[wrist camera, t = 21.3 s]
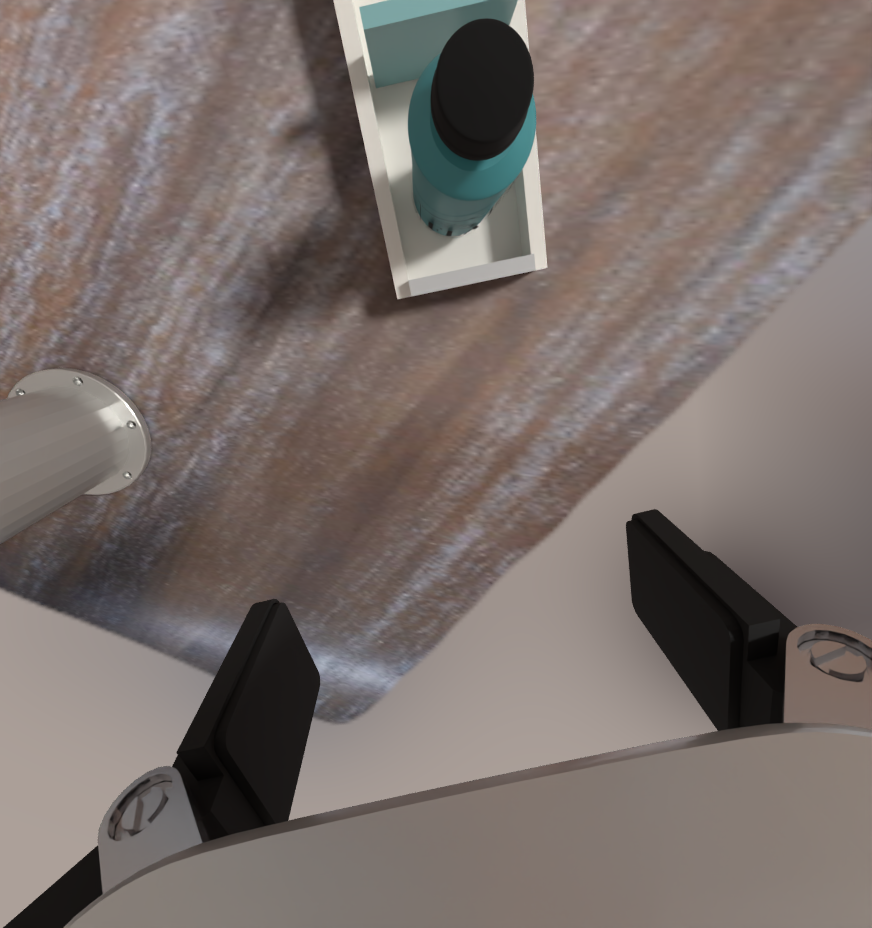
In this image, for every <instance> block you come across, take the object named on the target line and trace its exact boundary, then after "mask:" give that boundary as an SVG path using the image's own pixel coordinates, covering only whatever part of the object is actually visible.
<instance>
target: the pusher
mask: <svg viewBox="0 0 872 928" xmlns="http://www.w3.org/2000/svg"><path fill="white" fill-rule="evenodd" d="M517 1H518V0H387V1H383V2H378V3H374V4H370V5H366V6H362V7H359V9H360V14H361V19H362V24H363V29H364V34H365V39H366V43H367V48H368V53H369V58H370V62H371V67H372V72H373V76H374V81H375V86H376V88H379V87H384V86H388V85H392V84H397V83H401V82H405V81H410V80H414V79H418V78H419V77H420V75H421V74H422V72H423V71H424V69H425V68H426V67H427V65H428V64H429V63H430V62H431V61H432V60H433V59H434V58H435V57H436V56H437V55H439V54H440V53H441V52H442V50H443V48H444V46H445V44H446V43H447V41H448V40H449V39H450V37H451V36H452V35H453V34H454V33H455V32H456V31H457V30H458V29H459V28H461V27H462V26H463V25H465V24H467V23H468V22H471V21H473V20H477V19H484V18H489V19H496V20H499V21H502V22H504V23H506V24H508V25H510V22H511V19H512V16H513V13H514V10H515V7H516V4H517Z"/></svg>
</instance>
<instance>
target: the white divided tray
mask: <svg viewBox="0 0 872 928" xmlns="http://www.w3.org/2000/svg"><path fill="white" fill-rule="evenodd" d="M333 1H334V5H335V10H336V15H337V19H338V24H339V29H340V33H341V38H342V43H343V47H344V52H345V57H346V61H347V66H348V71H349V75H350V80H351V85H352V89H353V94H354V99H355V103H356V108H357V113H358V117H359V122H360V127H361V131H362V136H363V141H364V145H365V150H366V155H367V159H368V164H369V169H370V173H371V178H372V183H373V187H374V192H375V197H376V201H377V206H378V211H379V215H380V220H381V225H382V229H383V234H384V239H385V243H386V248H387V253H388V257H389V262H390V267H391V271H392V276H393V281H394V285H395V290H396V295H397V299H402V298H406V297H411V296H416V295H421V294H426V293H431V292H435V291H440V290H445V289H450V288H454V287H459V286H464V285H469V284H473V283H478V282H483V281H488V280H492V279H497V278H502V277H507V276H511V275H516V274H521V273H526V272H530V271H535V270H539V269H544V268H547V259H546V247H545V235H544V223H543V211H542V199H541V187H540V175H539V163H538V152H537V140H536V131H535V138H534V142H533V146H532V149H531V153H530V155H529V157H528V160H527V162H526V164H525V166H524V167H523V169H522V171H521V172H520V173H519V176H517V177H518V178H516V179H515V180H514V182H515V183H513V182H512V183H511V184H510V186H508V187H509V188H507V189H506V191H507V192H506V191H505V192H504V193H503V195H502V196H501V197H500V200H499V199H498V201H499V204H498V201H497V202H496V203H497V204H496V203H495V204H494V206H495V207H494V206H493V208H491V209H492V211H491V213H489V212H490V211H489V212H488V213H487V215H486V216H485V217H484V218H483V220H482V221H481V222H480V223H479V224H478V225H477V226H479V227H478V228H476V229H475V230H473V229H472V231H470V232H467V233H466V234H465V235H464V234H462V235H461V236H459V235H458V236H453V237H452V236H445V235H442V236H441V234H439V233H437V232H435V231H433V230H432V231H433V232H431V229H430V228H429V227H428V226H427V225H426V224H425V223H424V221H423V220H422V219H421V221H420V215H419V213H417V212H418V211H417V209H416V208H415V207H416V206H415V203H414V204H413V202H414V197H413V182H412V156H411V148H410V143H409V136H408V111H409V105H410V100H411V97H412V93H413V90H414V88H415V85H416V83H417V81H418V79H419V78H418V79H414V80H410V81H405V82H401V83H397V84H392V85H388V86H384V87H379V88H376V86H375V81H374V76H373V72H372V67H371V62H370V58H369V53H368V48H367V43H366V39H365V34H364V29H363V24H362V19H361V14H360V9H359V7H362V6H366V5H370V4H374V3H378V2H383V1H387V0H333ZM509 26H511V27H512V28H513V29H514V30H515V31H516V32H517V33H518V34H519V35H520V36H521V38H522V39H523V41H524V42H525V44H526V46H527V48H528V51H529V44H528V33H527V21H526V9H525V0H518V1H517V4H516V7H515V10H514V13H513V16H512V19H511V22H510V25H509ZM410 185H412V186H410ZM510 187H511V188H510ZM411 197H412V198H411ZM503 197H504V198H503ZM413 205H414V206H415V207H414V206H413ZM415 209H416V210H415ZM493 209H494V210H493ZM415 211H417V212H415ZM426 226H427V227H426ZM434 232H435V233H434ZM436 233H437V235H436ZM469 233H470V234H469ZM463 235H464V236H463ZM462 236H463V237H462Z"/></svg>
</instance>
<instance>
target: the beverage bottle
mask: <svg viewBox="0 0 872 928" xmlns="http://www.w3.org/2000/svg"><path fill="white" fill-rule="evenodd" d="M533 87H534V72H533V65H532V61H531V56H530V54H529V51H528V48H527V46H526V44H525V42H524V41H523V39H522V38H521V36H520V35H519V34H518V33H517V32H516V31H515V30H514V29H513V28H512V27H511V26H509V25H508V24H506V23H504V22H502V21H499V20H496V19H489V18H484V19H477V20H473V21H471V22H468V23H467V24H465V25H463V26H462V27H461V28H459V29H458V30H457V31H456V32H455V33H454V34H453V35H452V36H451V37H450V39H449V40H448V41H447V43H446V44H445V46H444V48H443V50H442V52H441V53H440V54H439V55H437V56H436V57H435V58H434V59H433V60H432V61H431V62H430V63H429V64H428V65H427V67H426V68H425V69H424V71H423V72H422V74H421V75H420V77H419V79H418V81H417V83H416V85H415V88H414V90H413V93H412V97H411V100H410V105H409V111H408V136H409V143H410V148H411V156H412V182H413V197H414V202H413V204H414V203H415V206H416V207H415V206H414V205H413V206H414V207H415V208H416V209H417V211H418V212H417V211H415V212H417V213H419V215H420V221H421V219H422V220H423V221H424V223H425V224H426V225H427V226H428V227H429V228H430V229H431V232H433V231H435V232H437V233H439V234H441V236H442V235H445V236H452V237H453V236H458V235H459V236H461V235H462V234H464V235H465V234H466V233H467V232H470V231H472V229H473V230H475V229H476V228H478V227H479V226H477V225H478V224H479V223H480V222H481V221H482V220H483V218H484V217H485V216H486V215H487V213H488V212H489V211H490V212H489V213H491V211H492V209H491V208H493V206H494V204H495V203H496V202H497V201H498V199H499V200H500V197H501V196H502V195H503V193H504V192H505V191H506V189H507V188H509V187H508V186H510V184H511V183H512V182H513V183H515V182H514V180H515V179H516V178H518V177H517V176H519V173H520V172H521V171H522V169H523V167H524V166H525V164H526V162H527V160H528V157H529V155H530V153H531V149H532V146H533V142H534V138H535V131H536V108H535V102H534V97H533ZM410 186H412V185H410ZM510 188H511V187H510ZM506 192H507V191H506ZM411 198H412V197H411ZM503 198H504V197H503ZM496 204H497V203H496ZM498 204H499V201H498ZM494 207H495V206H494ZM416 209H415V210H416ZM493 210H494V209H493ZM427 226H426V227H427ZM432 230H433V231H432ZM435 232H434V233H435ZM437 233H436V235H437ZM469 234H470V233H469ZM464 235H463V236H464ZM463 236H462V237H463Z"/></svg>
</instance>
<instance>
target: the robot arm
mask: <svg viewBox="0 0 872 928" xmlns="http://www.w3.org/2000/svg"><path fill="white" fill-rule="evenodd" d="M150 456H151V438H150V434H149V429H148V427H147V425H146V422H145V420H144V418H143V416H142V415H141V413H140V411H139V410H138V408H137V407H136V406H135V404H134V403H133V402H132V401H131V400H130V399H129V398H128V397H127V395H125V394H124V393H123V392H122V391H121V390H119V389H118V388H117V387H116V386H114V385H113V384H111V383H109V382H108V381H106V380H105V379H103V378H101V377H98V376H96V375H94V374H92V373H89V372H85V371H81V370H78V369H71V368H53V369H46V370H42V371H38V372H34V373H32V374H30V375H28V376H26V377H24V378H22V379H21V380H20V381H19V382H18V383H16V384H15V385H14V387H13V388H12V390H11V391H10V393H9V394H8V397H7V399H4V400H0V544H1V543H3V542H4V541H6V540H8V539H9V538H11V537H13V536H14V535H16V534H18V533H19V532H21V531H23V530H24V529H26V528H28V527H29V526H31V525H33V524H34V523H36V522H37V521H39V520H41V519H42V518H44V517H46V516H47V515H49V514H51V513H52V512H54V511H56V510H57V509H59V508H61V507H62V506H64V505H66V504H67V503H69V502H71V501H72V500H74V499H76V498H77V497H79V496H81V495H82V494H88V495H103V494H110V493H114V492H117V491H120V490H122V489H124V488H125V487H127V486H129V485H130V484H132V483H133V482H135V481H136V480H137V479H138V478H139V477H140V476H141V475H142V474H143V473H144V471H145V469H146V467H147V465H148V463H149V460H150ZM626 533H627V545H628V558H629V569H630V582H631V595H632V603H633V607H634V609H635V612H636V614H637V615H638V617H639V618H640V620H641V621H642V622H643V624H644V625H645V627H646V628H647V630H648V631H649V633H650V634H651V635H652V637H653V638H654V640H655V641H656V643H657V644H658V645H659V647H660V648H661V650H662V651H663V653H664V654H665V655H666V657H667V658H668V660H669V661H670V663H671V664H672V666H673V667H674V668H675V670H676V671H677V672H678V674H679V676H680V677H681V678H682V680H683V681H684V683H685V684H686V686H687V687H688V688H689V690H690V691H691V693H692V694H693V696H694V697H695V698H696V700H697V701H698V703H699V704H700V706H701V707H702V709H703V710H704V711H705V713H706V714H707V716H708V717H709V719H710V720H711V721H712V723H713V724H714V726H715V727H716V728H717V730H718V731H717V732H711V733H705V734H700V735H695V736H689V737H684V738H679V739H673V740H668V741H662V742H657V743H652V744H647V745H642V746H637V747H632V748H627V749H623V750H618V751H613V752H608V753H603V754H599V755H593V756H589V757H584V758H579V759H574V760H569V761H565V762H559V763H555V764H550V765H545V766H540V767H535V768H530V769H525V770H521V771H516V772H511V773H507V774H502V775H497V776H492V777H488V778H483V779H479V780H473V781H469V782H464V783H459V784H455V785H450V786H445V787H440V788H436V789H431V790H427V791H422V792H417V793H412V794H408V795H403V796H398V797H394V798H389V799H385V800H380V801H375V802H371V803H367V804H362V805H357V806H352V807H348V808H343V809H339V810H334V811H330V812H325V813H321V814H316V815H311V816H307V817H302V818H298V819H294V820H289V821H288V819H289V815H290V811H291V806H292V802H293V797H294V793H295V789H296V785H297V781H298V776H299V772H300V768H301V764H302V759H303V755H304V751H305V746H306V742H307V738H308V734H309V730H310V725H311V721H312V717H313V713H314V709H315V704H316V700H317V696H318V692H319V687H320V676H319V672H318V670H317V668H316V666H315V664H314V661H313V659H312V657H311V655H310V653H309V651H308V649H307V647H306V645H305V643H304V641H303V639H302V637H301V634H300V632H299V630H298V628H297V626H296V624H295V622H294V620H293V618H292V616H291V614H290V612H289V610H288V608H287V606H286V604H285V603H280V602H279V601H278V600H277V599H272V600H267V601H263V602H259V603H255V604H253V605H252V607H251V608H250V610H249V612H248V614H247V616H246V618H245V620H244V622H243V624H242V626H241V628H240V630H239V632H238V634H237V636H236V638H235V640H234V641H233V643H232V645H231V647H230V649H229V651H228V653H227V655H226V657H225V659H224V661H223V663H222V665H221V667H220V669H219V671H218V673H217V675H216V677H215V678H214V680H213V683H212V684H211V686H210V688H209V690H208V692H207V694H206V696H205V698H204V700H203V702H202V704H201V706H200V708H199V710H198V712H197V714H196V716H195V717H194V720H193V721H192V723H191V725H190V727H189V729H188V731H187V733H186V735H185V737H184V739H183V741H182V743H181V745H180V747H179V749H178V751H177V754H178V756H177V758H176V760H175V762H174V764H173V766H172V767H170V766H164V767H158V768H156V769H154V770H151V771H149V772H147V773H145V774H144V775H142V776H141V777H140V778H138V779H136V780H135V781H134V782H133V783H131V784H130V785H129V786H128V787H127V788H126V789H125V790H124V791H123V792H122V793H121V794H120V795H119V796H118V797H117V799H116V800H115V801H114V802H113V803H112V805H111V806H110V808H109V810H108V811H107V813H106V814H105V816H104V818H103V820H102V823H101V825H100V828H99V833H98V846H97V847H95V848H94V849H93V850H92V851H91V852H90V853H89V854H87V855H86V856H85V857H84V858H83V859H82V860H80V861H79V862H78V863H77V864H76V865H75V866H74V867H72V868H71V869H70V870H69V871H68V872H67V873H66V874H64V875H63V876H62V877H61V878H60V879H59V880H58V881H56V882H55V883H54V884H53V885H52V886H51V887H49V888H48V889H47V890H46V891H45V892H44V893H43V894H41V895H40V896H39V897H38V898H37V899H36V900H34V901H33V902H32V903H31V904H30V905H29V906H28V907H27V908H25V909H24V910H23V911H22V912H21V913H20V914H18V915H17V916H16V917H15V918H14V919H13V920H11V921H10V922H9V923H8V924H7V925H6V926H5V927H3V928H872V641H871V640H870V639H868V638H866V637H864V636H862V635H860V634H858V633H856V632H853V631H851V630H847V629H844V628H841V627H837V626H831V625H824V624H810V625H809V624H808V625H804V626H800V627H797V626H796V625H795V624H793V623H792V622H791V621H790V620H789V619H788V618H786V617H785V616H784V615H783V614H782V613H781V612H780V611H778V610H777V609H776V608H775V607H774V606H773V605H772V604H770V603H769V602H768V601H767V600H766V599H765V598H763V597H762V596H761V595H760V594H759V593H758V592H756V591H755V590H754V589H753V588H752V587H751V586H750V585H749V584H747V583H746V582H745V581H744V580H743V579H742V578H740V577H739V576H738V575H737V574H736V573H735V572H734V571H732V570H731V569H730V568H729V567H727V565H726V564H724V563H723V562H722V561H721V560H720V559H718V558H717V557H716V556H715V555H714V554H712V553H711V552H707V551H703V550H702V549H701V548H700V547H699V546H698V545H696V544H695V543H694V542H693V541H692V540H691V539H690V538H689V537H687V536H686V535H685V534H684V533H683V532H682V531H681V530H680V529H678V528H677V527H676V526H675V525H674V524H673V523H672V522H671V521H669V520H668V519H667V518H666V517H665V516H664V515H663V514H662V513H660V512H659V511H658V510H655V509H654V510H650V511H645V512H641V513H637V514H633V516H632V520H631V521H628V522H627V523H626Z"/></svg>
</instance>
